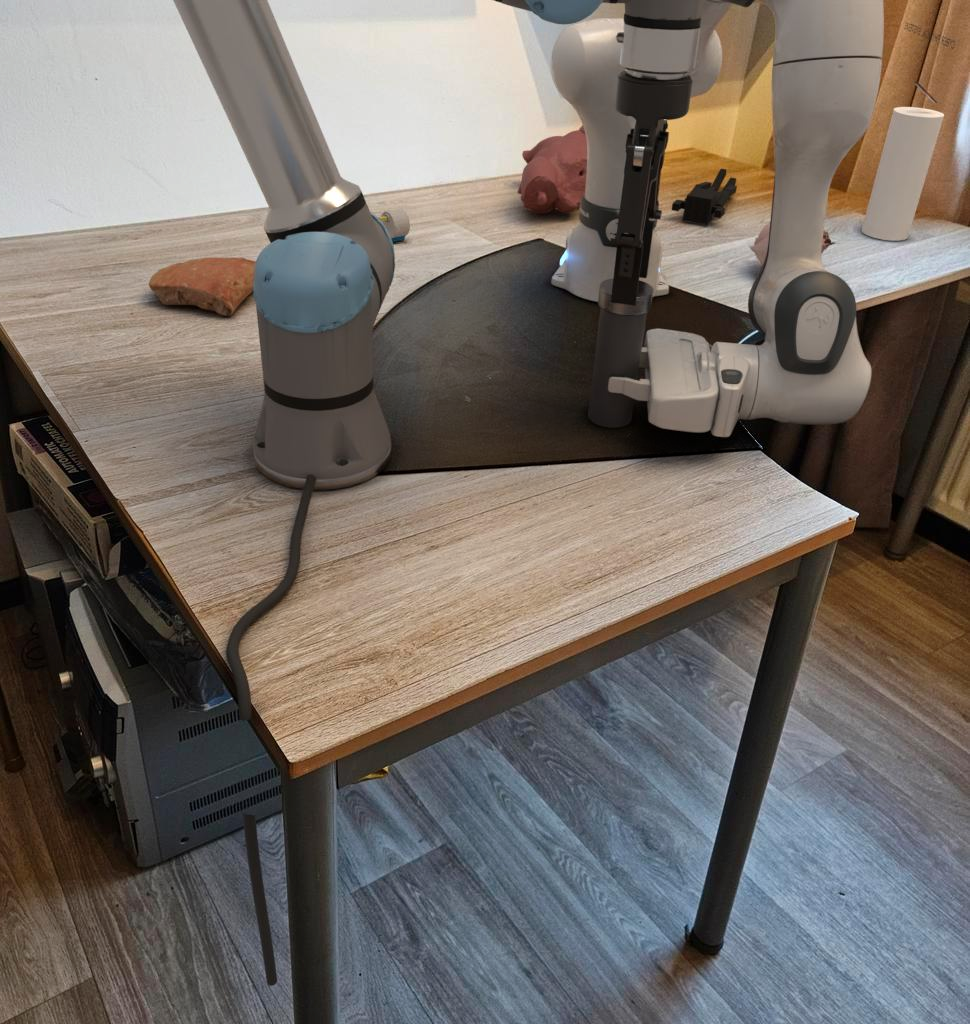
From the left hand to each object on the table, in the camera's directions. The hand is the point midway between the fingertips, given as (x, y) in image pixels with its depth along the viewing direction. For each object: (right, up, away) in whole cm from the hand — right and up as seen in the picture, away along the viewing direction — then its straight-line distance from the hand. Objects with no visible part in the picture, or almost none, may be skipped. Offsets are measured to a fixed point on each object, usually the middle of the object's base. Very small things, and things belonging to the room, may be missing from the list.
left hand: (629, 288), depth 109 cm
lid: (0, 0, 0) cm, 0 cm away
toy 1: (+30, +37, +86) cm, 99 cm away
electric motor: (-33, +22, +60) cm, 72 cm away
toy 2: (+35, +16, +55) cm, 67 cm away
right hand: (-2, -8, +6) cm, 10 cm away
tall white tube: (+60, +28, +76) cm, 101 cm away
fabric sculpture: (+1, +36, +83) cm, 90 cm away
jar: (-1, -14, +9) cm, 17 cm away
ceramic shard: (-58, +7, +36) cm, 69 cm away
